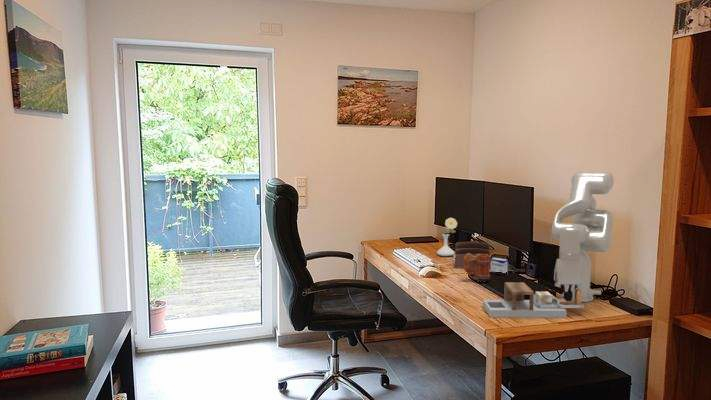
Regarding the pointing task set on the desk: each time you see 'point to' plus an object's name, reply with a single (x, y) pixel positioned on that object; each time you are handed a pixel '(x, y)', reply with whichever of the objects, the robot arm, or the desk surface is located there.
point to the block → (544, 297)
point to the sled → (556, 301)
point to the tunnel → (517, 293)
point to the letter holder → (471, 248)
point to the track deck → (520, 310)
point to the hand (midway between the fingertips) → (567, 300)
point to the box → (499, 265)
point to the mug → (477, 265)
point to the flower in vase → (445, 249)
